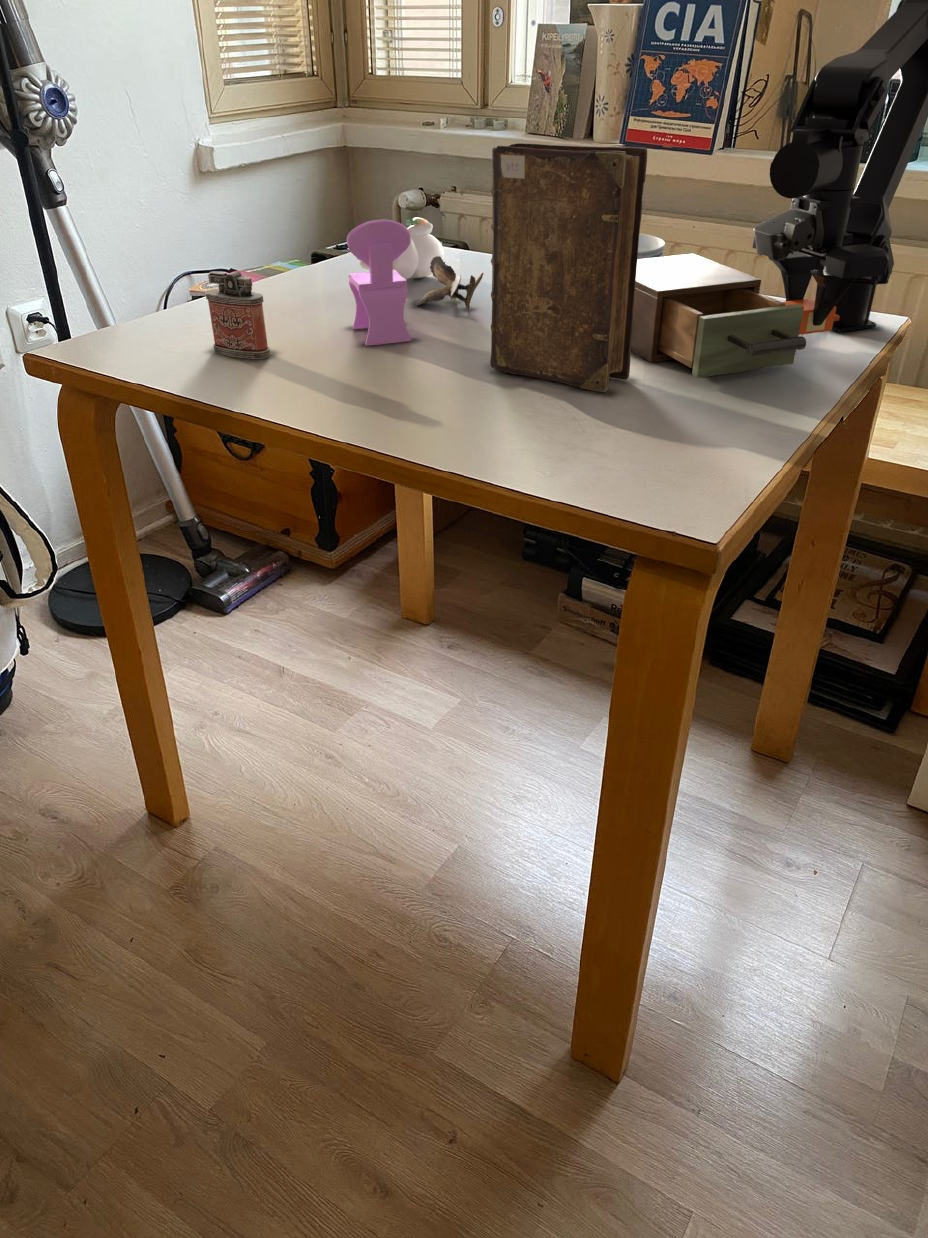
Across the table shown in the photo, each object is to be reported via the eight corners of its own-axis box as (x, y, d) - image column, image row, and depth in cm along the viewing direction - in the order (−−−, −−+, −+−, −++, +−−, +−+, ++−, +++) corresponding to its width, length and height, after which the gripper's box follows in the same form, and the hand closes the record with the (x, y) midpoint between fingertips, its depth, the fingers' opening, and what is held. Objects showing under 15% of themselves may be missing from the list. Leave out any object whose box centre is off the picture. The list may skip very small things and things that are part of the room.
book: (483, 369, 115) (483, 142, 102) (515, 354, 120) (520, 135, 106) (603, 396, 107) (621, 153, 93) (632, 379, 112) (654, 145, 98)
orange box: (768, 326, 122) (772, 302, 120) (813, 320, 124) (818, 296, 122) (791, 336, 118) (795, 311, 116) (837, 330, 120) (842, 305, 118)
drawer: (822, 377, 109) (834, 318, 105) (723, 392, 105) (732, 331, 101) (725, 331, 124) (732, 277, 121) (635, 342, 121) (640, 288, 117)
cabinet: (750, 348, 121) (761, 279, 116) (650, 362, 117) (658, 291, 112) (685, 316, 133) (693, 253, 129) (593, 328, 129) (597, 263, 124)
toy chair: (402, 322, 132) (397, 207, 124) (419, 340, 125) (415, 219, 117) (344, 328, 130) (335, 211, 122) (358, 346, 123) (349, 224, 115)
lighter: (275, 352, 122) (265, 272, 116) (260, 360, 119) (249, 278, 114) (224, 345, 124) (212, 266, 119) (208, 352, 122) (195, 272, 116)
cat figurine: (440, 209, 153) (362, 209, 144) (464, 243, 150) (386, 245, 142) (419, 257, 160) (344, 259, 152) (442, 290, 158) (366, 295, 149)
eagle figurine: (486, 292, 141) (433, 275, 143) (482, 257, 135) (427, 240, 137) (463, 330, 139) (410, 312, 141) (458, 297, 132) (402, 278, 135)
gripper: (726, 179, 117) (709, 308, 125) (824, 205, 102) (797, 348, 111) (801, 174, 120) (779, 299, 128) (906, 197, 105) (874, 337, 114)
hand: (804, 319), depth 120 cm, fingers closed on orange box, 5 cm apart
